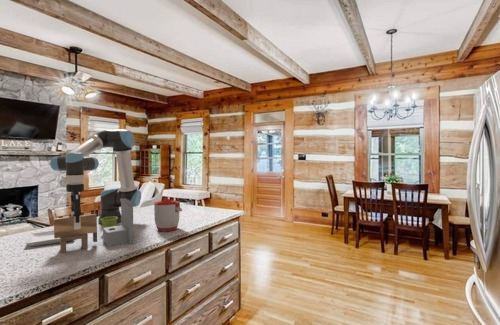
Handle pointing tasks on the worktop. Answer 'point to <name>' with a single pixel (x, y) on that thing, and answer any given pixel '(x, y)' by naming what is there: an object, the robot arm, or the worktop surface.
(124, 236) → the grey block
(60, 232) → the wooden board
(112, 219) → the plant pot
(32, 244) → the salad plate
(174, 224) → the citrus juicer
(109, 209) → the robot arm
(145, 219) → the worktop surface
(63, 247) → the trestle
